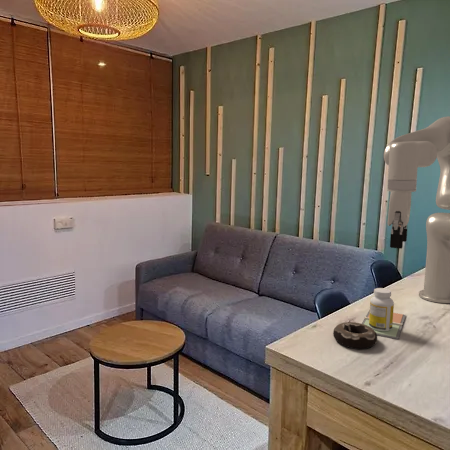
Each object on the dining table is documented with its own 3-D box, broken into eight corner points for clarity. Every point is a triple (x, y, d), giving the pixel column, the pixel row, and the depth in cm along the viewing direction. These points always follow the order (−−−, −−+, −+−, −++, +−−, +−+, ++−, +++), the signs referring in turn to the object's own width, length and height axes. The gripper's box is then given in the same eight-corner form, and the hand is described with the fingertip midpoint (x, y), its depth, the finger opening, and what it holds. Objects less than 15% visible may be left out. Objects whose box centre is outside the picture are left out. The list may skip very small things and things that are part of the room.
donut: (381, 339, 111) (382, 325, 111) (370, 355, 102) (371, 341, 101) (340, 329, 118) (341, 317, 117) (327, 344, 108) (327, 330, 107)
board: (370, 309, 133) (370, 307, 133) (405, 316, 128) (405, 313, 127) (357, 331, 116) (358, 328, 116) (398, 339, 110) (398, 336, 110)
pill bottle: (387, 323, 120) (390, 287, 118) (395, 332, 114) (398, 294, 112) (366, 323, 121) (368, 286, 119) (372, 331, 114) (374, 293, 112)
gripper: (392, 183, 121) (389, 237, 124) (382, 188, 106) (379, 249, 109) (419, 184, 117) (415, 240, 120) (413, 188, 103) (409, 252, 106)
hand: (398, 244), depth 115 cm, fingers open, 9 cm apart
